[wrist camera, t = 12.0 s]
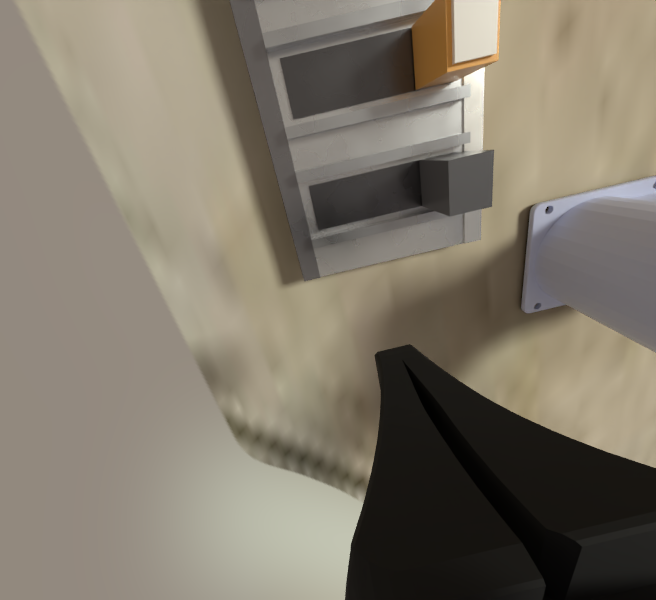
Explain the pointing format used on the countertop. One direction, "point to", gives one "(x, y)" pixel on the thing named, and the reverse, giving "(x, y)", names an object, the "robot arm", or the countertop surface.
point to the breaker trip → (455, 40)
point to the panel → (355, 127)
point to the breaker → (457, 181)
